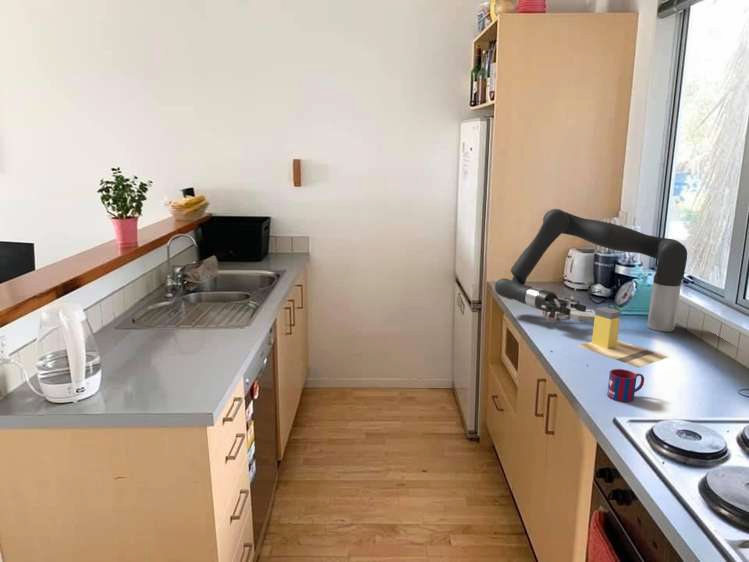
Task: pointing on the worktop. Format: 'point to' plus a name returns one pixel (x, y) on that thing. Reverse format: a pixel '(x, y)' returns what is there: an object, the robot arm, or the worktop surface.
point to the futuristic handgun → (571, 315)
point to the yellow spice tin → (606, 327)
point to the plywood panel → (626, 353)
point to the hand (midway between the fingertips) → (577, 310)
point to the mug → (623, 385)
